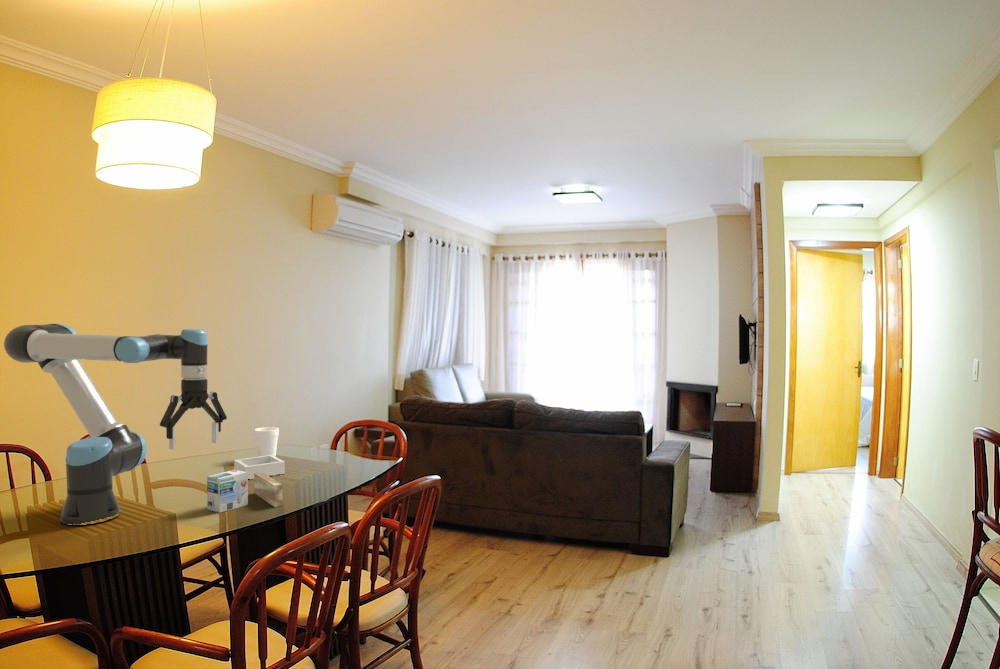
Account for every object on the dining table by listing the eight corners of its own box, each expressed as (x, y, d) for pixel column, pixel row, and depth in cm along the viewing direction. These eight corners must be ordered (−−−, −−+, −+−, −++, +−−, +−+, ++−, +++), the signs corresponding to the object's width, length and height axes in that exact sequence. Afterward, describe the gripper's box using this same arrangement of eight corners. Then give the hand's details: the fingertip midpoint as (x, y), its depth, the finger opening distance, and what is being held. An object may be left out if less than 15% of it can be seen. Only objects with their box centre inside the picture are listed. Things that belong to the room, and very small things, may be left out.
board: (274, 507, 214) (274, 485, 213) (254, 493, 230) (254, 473, 229) (282, 505, 215) (282, 484, 215) (261, 492, 231) (261, 471, 231)
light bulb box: (219, 513, 207) (219, 478, 207) (206, 509, 211) (205, 475, 210) (249, 504, 216) (248, 471, 216) (235, 501, 220) (235, 468, 220)
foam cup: (258, 457, 283) (258, 427, 283) (281, 457, 284) (280, 426, 284) (252, 463, 274) (252, 431, 273) (276, 462, 275) (275, 430, 274)
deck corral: (246, 480, 246) (245, 467, 246) (234, 472, 258) (234, 459, 257) (284, 474, 255) (284, 461, 255) (271, 467, 266) (271, 454, 266)
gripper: (159, 382, 199) (159, 453, 200) (237, 376, 218) (237, 441, 219) (147, 380, 204) (147, 450, 204) (225, 374, 223) (225, 438, 224)
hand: (194, 445), depth 212 cm, fingers open, 13 cm apart
